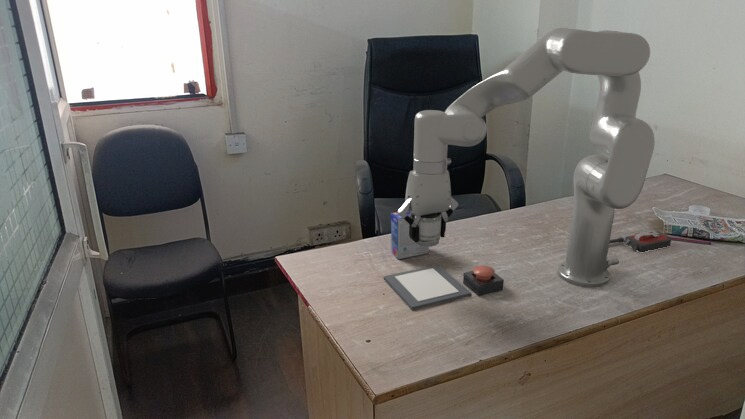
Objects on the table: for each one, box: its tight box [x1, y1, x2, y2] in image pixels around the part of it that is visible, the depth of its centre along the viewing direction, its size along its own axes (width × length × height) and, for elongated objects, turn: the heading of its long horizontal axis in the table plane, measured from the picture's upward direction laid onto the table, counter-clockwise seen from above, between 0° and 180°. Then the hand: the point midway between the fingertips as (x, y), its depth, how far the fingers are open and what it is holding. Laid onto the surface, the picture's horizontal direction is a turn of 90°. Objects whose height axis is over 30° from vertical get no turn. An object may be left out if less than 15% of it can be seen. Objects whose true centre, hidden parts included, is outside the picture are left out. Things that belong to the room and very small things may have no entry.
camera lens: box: [416, 213, 441, 248], centre depth 128 cm, size 6×6×8 cm
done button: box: [472, 265, 496, 282], centre depth 132 cm, size 5×5×3 cm
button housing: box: [462, 270, 505, 297], centre depth 133 cm, size 7×7×3 cm
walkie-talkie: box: [609, 230, 672, 253], centre depth 154 cm, size 9×4×20 cm
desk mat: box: [383, 264, 472, 311], centre depth 133 cm, size 16×16×1 cm
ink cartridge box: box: [390, 203, 430, 260], centre depth 149 cm, size 10×6×14 cm, turn 113°
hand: (427, 237), depth 129 cm, fingers closed on camera lens, 6 cm apart
